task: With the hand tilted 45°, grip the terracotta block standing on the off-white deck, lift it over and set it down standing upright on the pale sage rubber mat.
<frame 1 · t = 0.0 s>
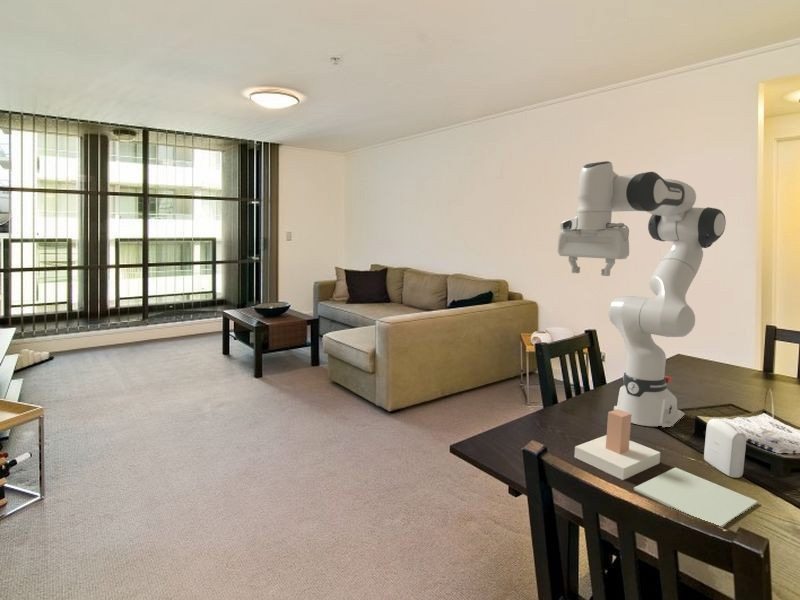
hand: (590, 274, 131), 48 cm above the table, tool pointing down, fingers open, 8 cm apart
deck: (616, 460, 126), on the table
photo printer: (722, 469, 122), on the table
block: (617, 449, 126), point 3 cm above the table, touching deck
mat: (694, 496, 109), on the table
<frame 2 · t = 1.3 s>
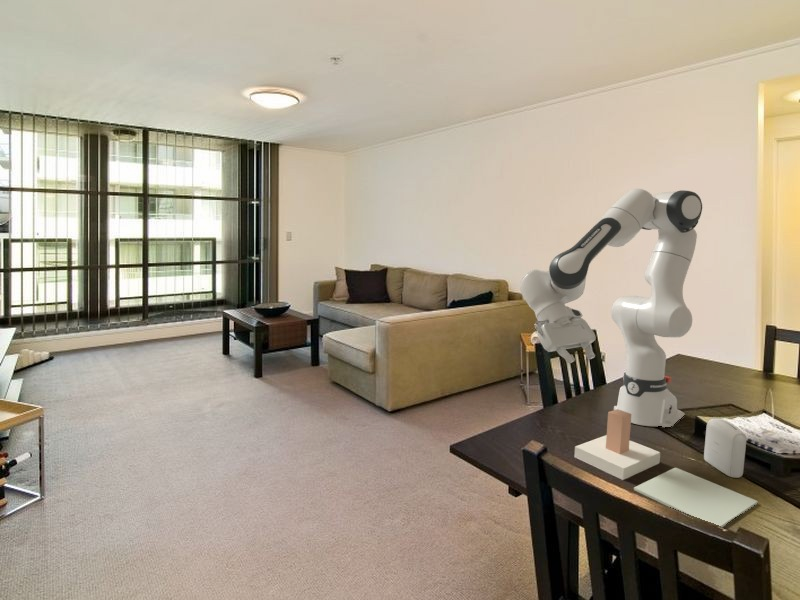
hand: (582, 359, 133), 24 cm above the table, tool tilted 45°, fingers open, 8 cm apart
nothing on the table moved.
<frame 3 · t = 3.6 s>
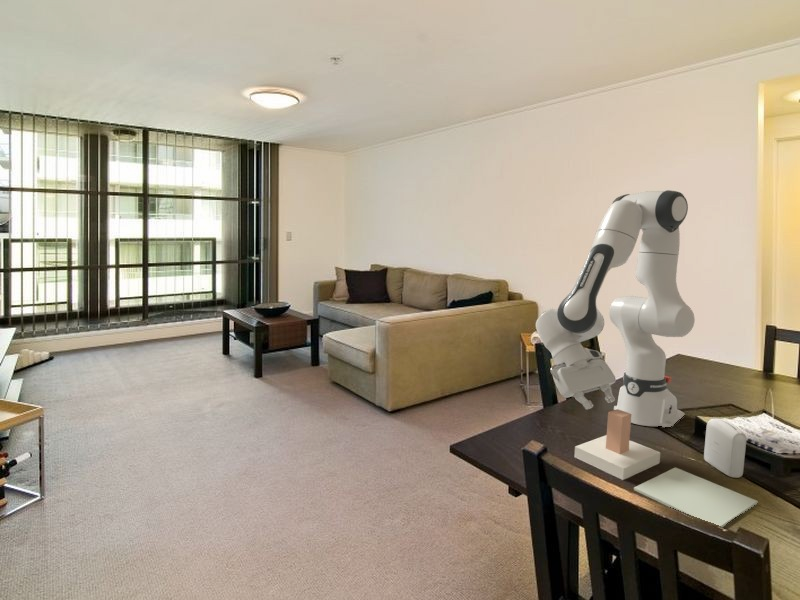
hand: (601, 404, 129), 14 cm above the table, tool tilted 45°, fingers open, 8 cm apart
nothing on the table moved.
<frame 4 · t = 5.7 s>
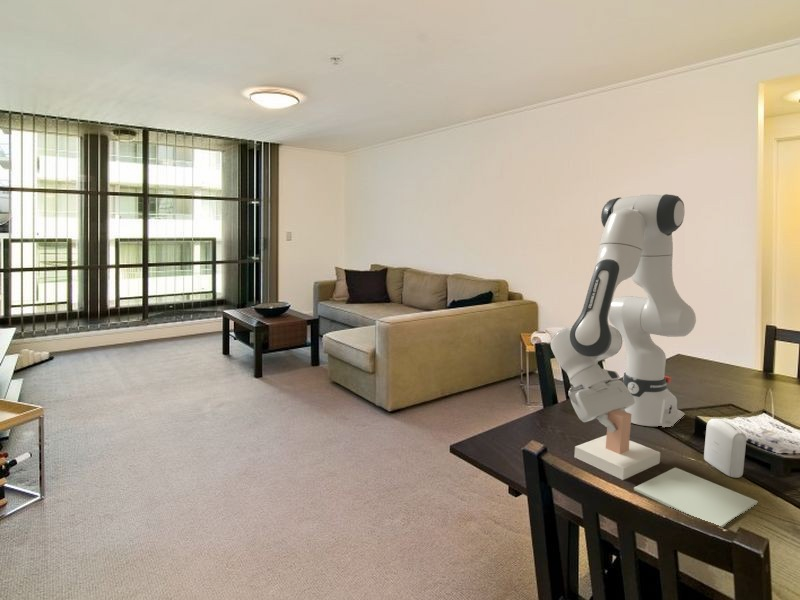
hand: (621, 428, 124), 9 cm above the table, tool tilted 45°, fingers closed on block, 4 cm apart
block: (617, 449, 126), point 3 cm above the table, touching deck, gripper
everything else where it was.
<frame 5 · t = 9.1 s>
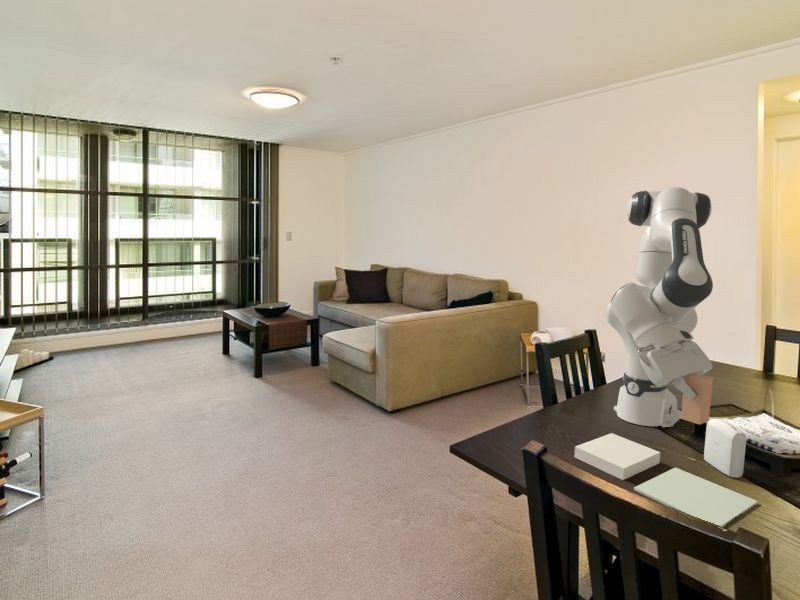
hand: (700, 395, 106), 24 cm above the table, tool tilted 45°, fingers closed on block, 4 cm apart
block: (694, 419, 107), point 18 cm above the table, touching gripper
everything else where it was.
when the fingers open (8 cm above the table, at t = 12.6 s): block drops 1 cm, resting on mat.
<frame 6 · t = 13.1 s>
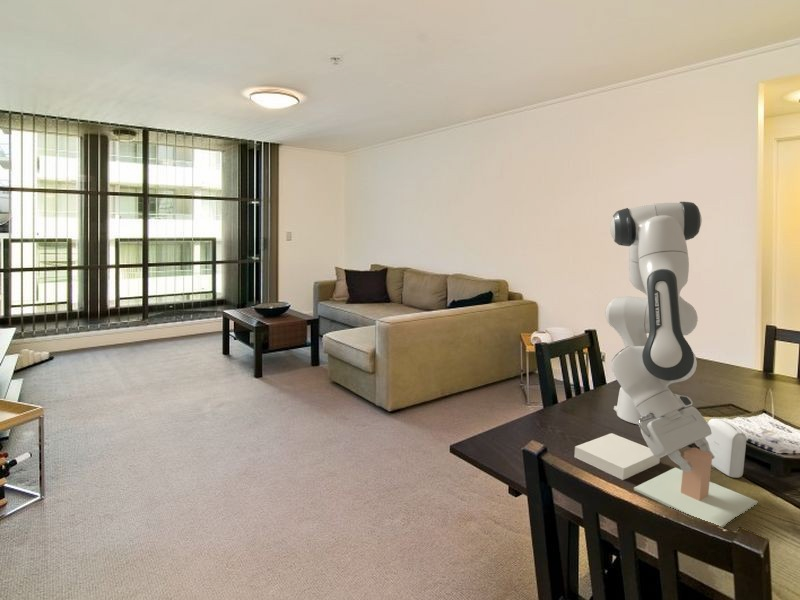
hand: (700, 465, 107), 8 cm above the table, tool tilted 45°, fingers open, 8 cm apart
block: (694, 494, 109), point 1 cm above the table, touching mat
everything else where it was.
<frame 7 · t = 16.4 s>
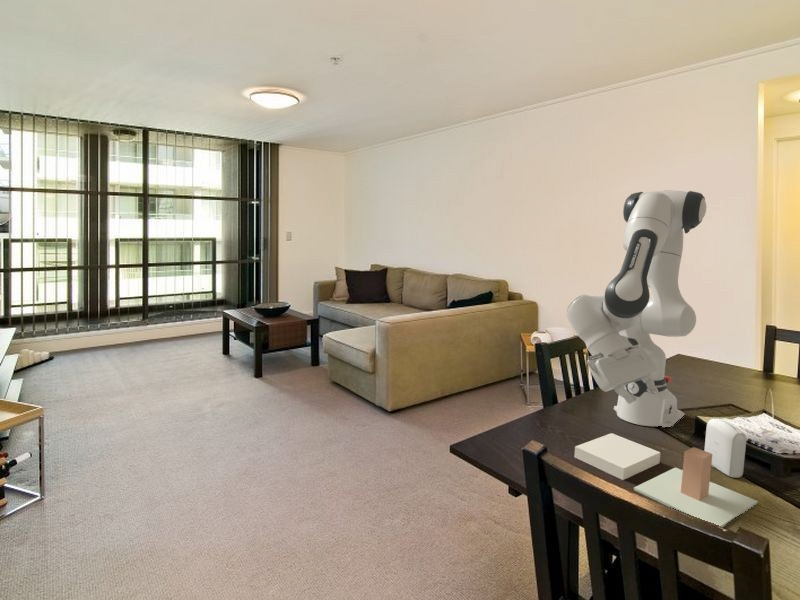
hand: (644, 397, 118), 19 cm above the table, tool tilted 45°, fingers open, 8 cm apart
nothing on the table moved.
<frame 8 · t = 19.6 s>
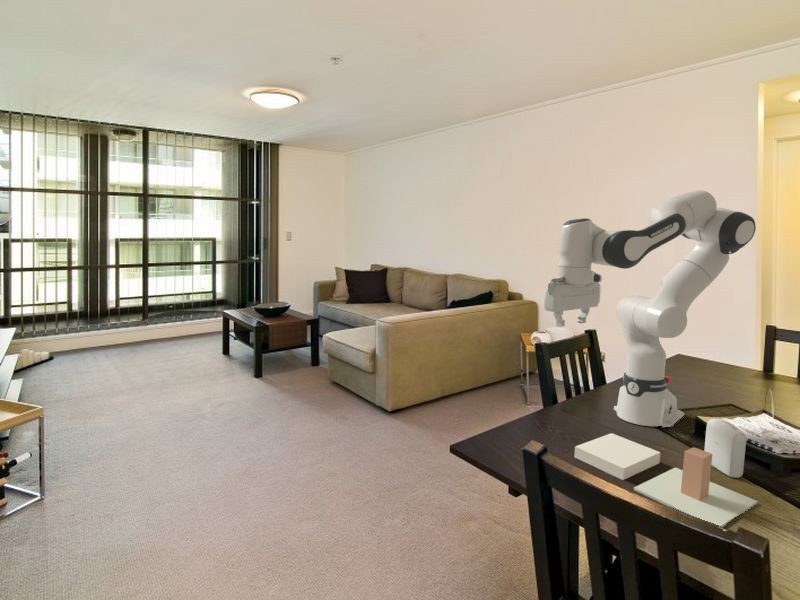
hand: (571, 324, 137), 33 cm above the table, tool pointing down, fingers open, 8 cm apart
nothing on the table moved.
at the end: block inside the target area on the mat (0.0 cm from its centre), point 0.6 cm above the mat's base; block tilted 0°; the gripper is holding nothing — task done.
